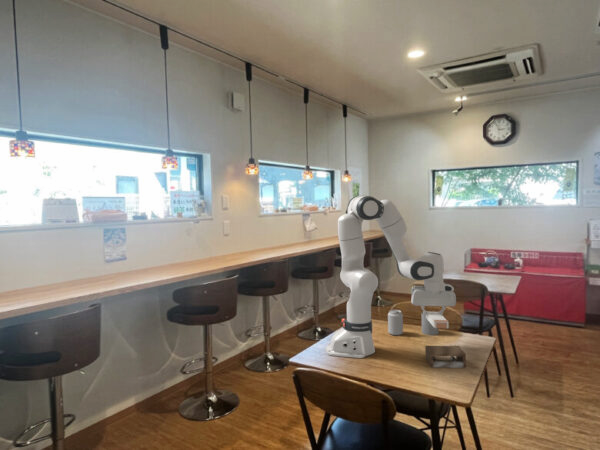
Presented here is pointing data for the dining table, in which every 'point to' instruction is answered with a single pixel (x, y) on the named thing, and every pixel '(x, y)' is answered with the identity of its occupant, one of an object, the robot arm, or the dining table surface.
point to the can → (395, 322)
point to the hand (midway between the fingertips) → (433, 314)
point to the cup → (428, 327)
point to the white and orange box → (437, 320)
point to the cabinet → (445, 351)
